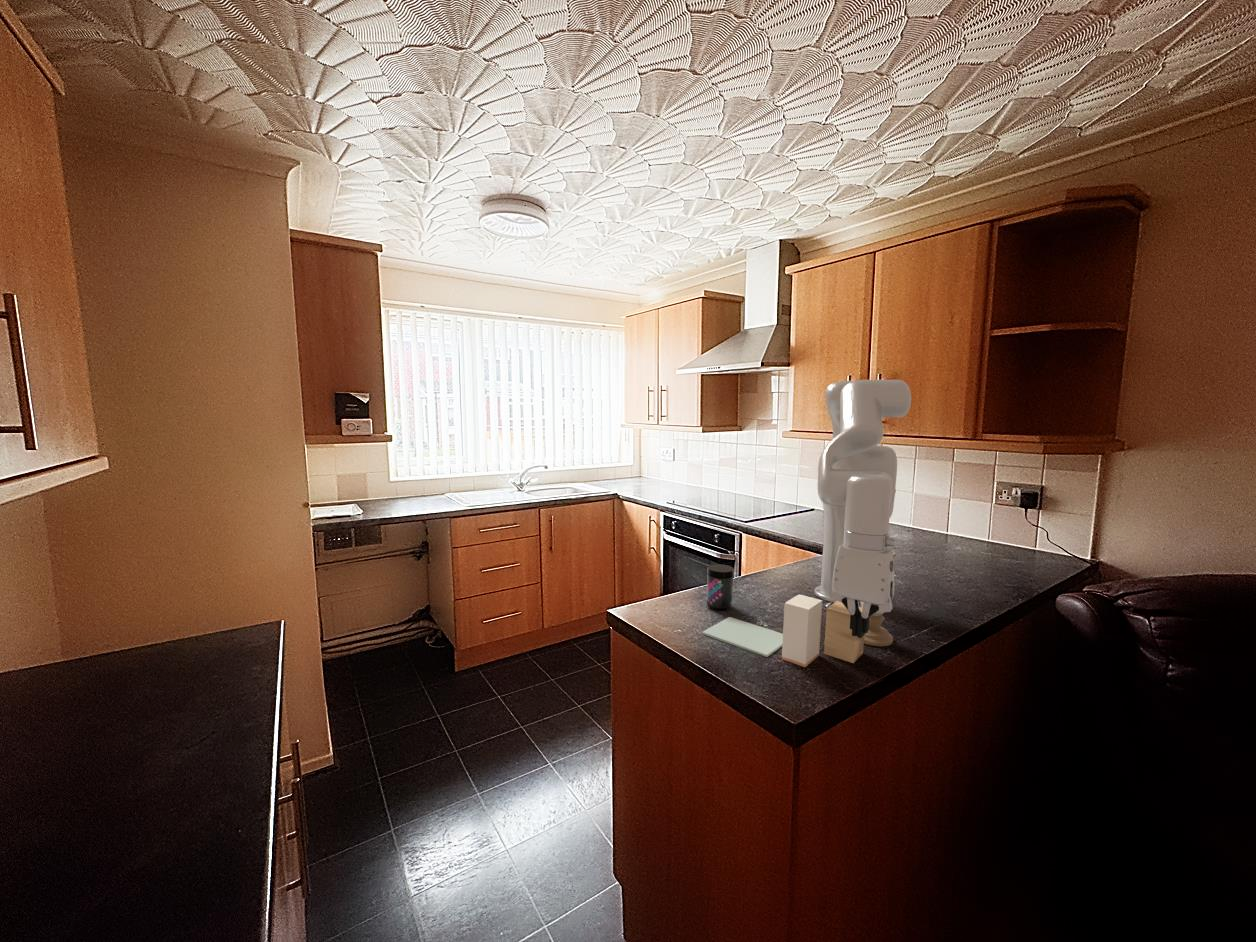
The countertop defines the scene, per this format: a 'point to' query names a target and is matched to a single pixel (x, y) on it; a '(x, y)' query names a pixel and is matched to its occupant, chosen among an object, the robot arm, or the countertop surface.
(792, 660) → the cream block
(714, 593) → the supplement container
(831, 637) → the oak block
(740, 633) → the mat
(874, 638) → the candle holder
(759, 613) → the countertop surface
